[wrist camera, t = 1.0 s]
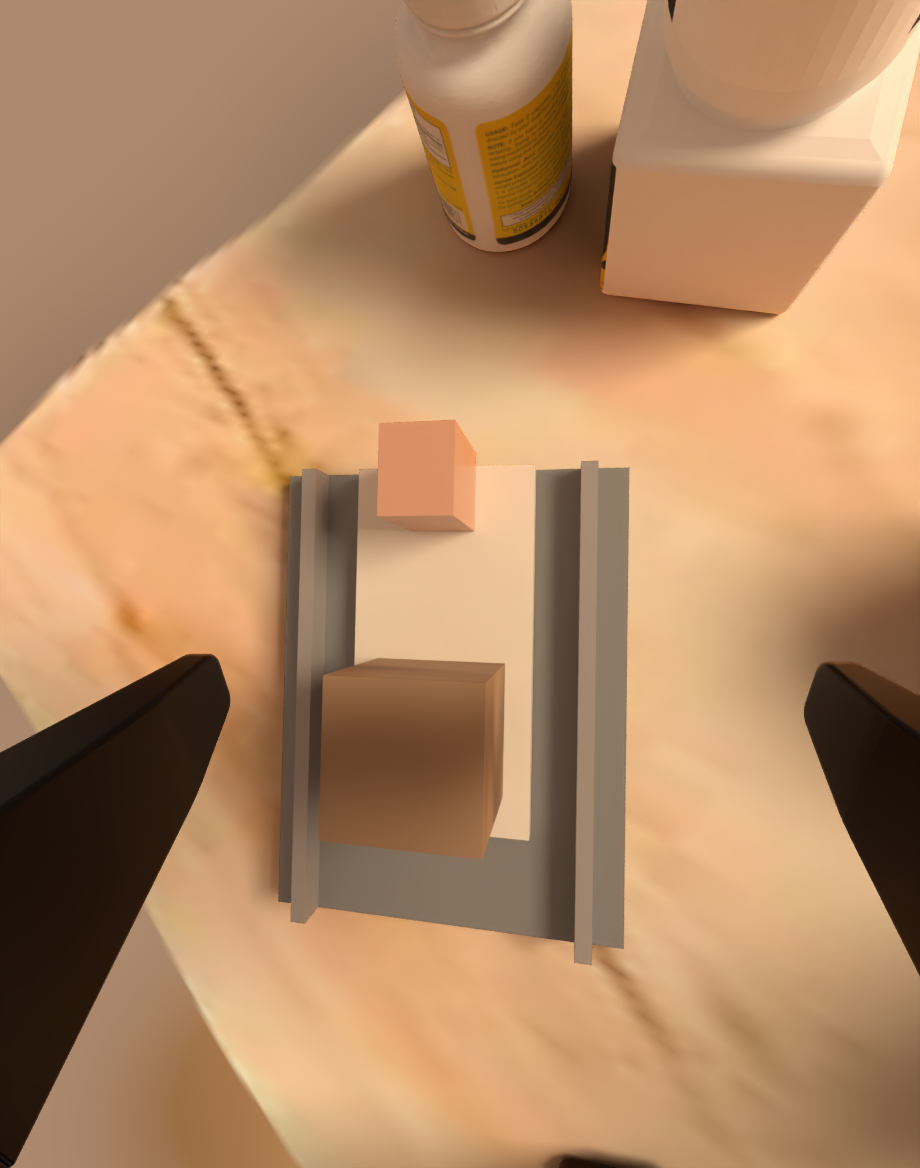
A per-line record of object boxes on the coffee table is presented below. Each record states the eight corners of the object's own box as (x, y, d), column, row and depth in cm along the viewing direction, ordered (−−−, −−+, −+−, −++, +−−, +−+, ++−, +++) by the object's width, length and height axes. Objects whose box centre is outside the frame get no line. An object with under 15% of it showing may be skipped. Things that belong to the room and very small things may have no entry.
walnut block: (502, 797, 21) (482, 859, 16) (375, 785, 22) (318, 841, 17) (505, 663, 21) (485, 683, 16) (378, 658, 22) (322, 675, 17)
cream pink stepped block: (530, 831, 21) (519, 898, 16) (358, 814, 22) (302, 871, 18) (536, 456, 21) (527, 416, 17) (366, 461, 23) (314, 425, 18)
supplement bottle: (589, 140, 23) (605, -201, 13) (547, 269, 23) (532, 25, 13) (466, 120, 24) (396, -209, 14) (427, 243, 24) (331, 1, 14)
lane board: (620, 932, 21) (626, 970, 19) (290, 889, 24) (262, 917, 22) (626, 473, 22) (633, 459, 20) (301, 481, 25) (275, 470, 22)
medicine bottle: (636, 123, 22) (713, -415, 10) (828, 133, 21) (1168, -475, 9) (597, 297, 22) (629, -41, 11) (785, 319, 21) (1066, -44, 9)
